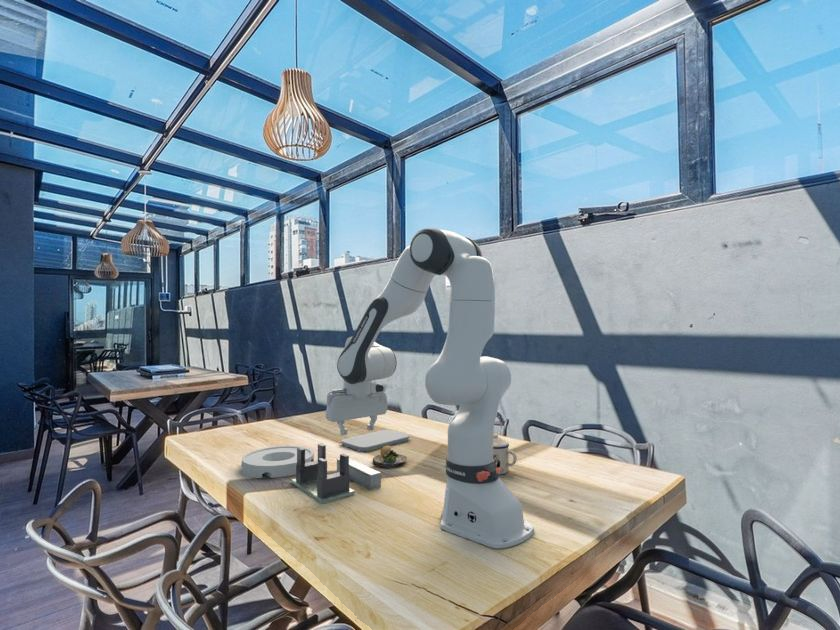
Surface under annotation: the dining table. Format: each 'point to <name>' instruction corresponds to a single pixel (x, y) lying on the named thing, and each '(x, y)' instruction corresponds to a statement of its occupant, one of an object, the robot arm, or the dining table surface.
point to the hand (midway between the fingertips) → (357, 432)
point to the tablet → (375, 440)
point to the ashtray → (273, 461)
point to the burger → (388, 458)
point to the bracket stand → (322, 477)
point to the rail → (363, 474)
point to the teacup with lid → (502, 454)
